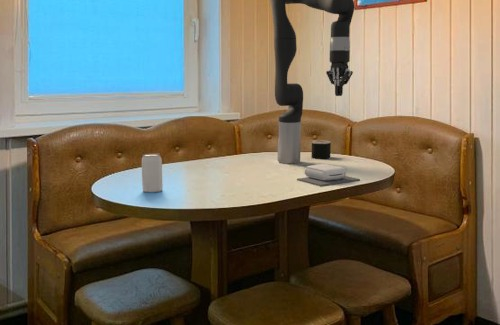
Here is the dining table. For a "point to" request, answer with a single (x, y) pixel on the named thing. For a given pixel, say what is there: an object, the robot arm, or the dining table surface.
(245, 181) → the dining table surface
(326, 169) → the photo printer
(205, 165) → the dining table surface
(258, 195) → the dining table surface
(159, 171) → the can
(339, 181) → the mat
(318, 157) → the sushi
